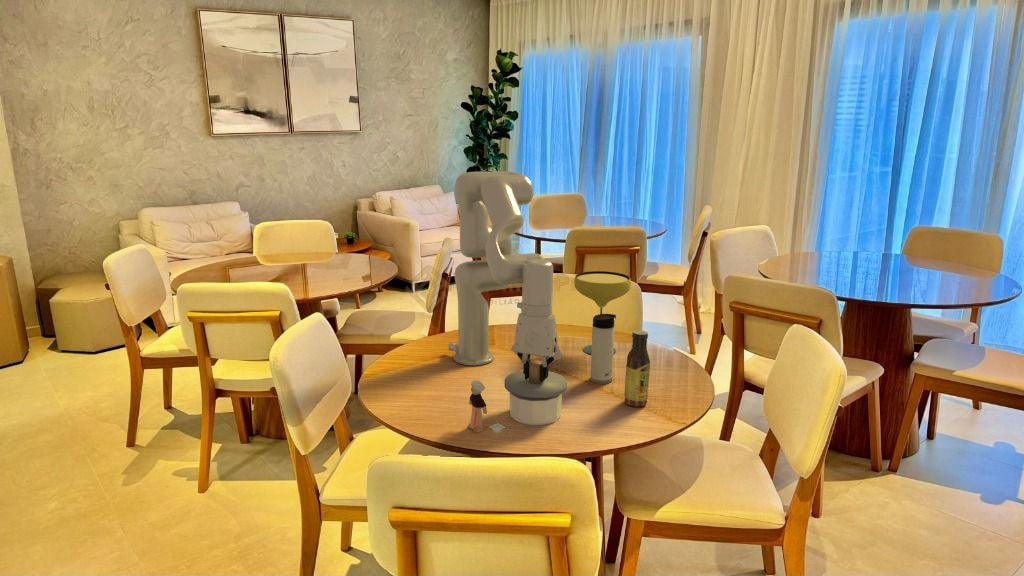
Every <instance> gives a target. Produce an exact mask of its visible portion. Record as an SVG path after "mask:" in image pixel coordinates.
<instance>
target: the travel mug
mask: <svg viewBox="0 0 1024 576" xmlns="http://www.w3.org/2000/svg"><path fill="white" fill-rule="evenodd" d="M615 319H617V315H616V314H615V313H614V314H613V313H602V314H600V313H599V314H595V315H593V317H592V331H591V345H592V351H591V355H590V360H591V361H590V380H591V382H592V383H595V384H598V385H599V384H600V385H606V384H609V383H611V382H612V381H613V364H614V361H613V360H614V354H613V348H614V345H615V344H614V343H615V342H614V341H615Z"/></svg>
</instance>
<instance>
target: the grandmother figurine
mask: <svg viewBox="0 0 1024 576" xmlns="http://www.w3.org/2000/svg"><path fill="white" fill-rule="evenodd" d="M470 385H471V388H470V392H471V394H470V396H469V401H468V404H469V405H471V415H470V423H468V425H467V428H469V429H471V430H473V432H474V433H481V432H483V431H484V430H485V427H483V414H484V415H487V413H488V409H487V406H488V405H487V404H486V402H485V400H484V399H483V396H482V394H481V393H482V392H483V391H484V390H486V386H485V385H484V383H483V382H482V381H480V380H477V379H474V380H472V381H471V384H470Z"/></svg>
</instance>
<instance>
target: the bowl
mask: <svg viewBox="0 0 1024 576" xmlns="http://www.w3.org/2000/svg"><path fill="white" fill-rule="evenodd" d="M562 399H563V393H562V394H560V395H557V396H554V397H549V398H526V397H521V396H517V395H514V394H512V393H510V392H509V416H510V418H511V419H512V420H513V421H515V422H517V423H519V424H523V425H528V426H546V425H550V424H553V423H556V422H557V421H559V419H560V418H561V414H562V407H563V406H562V403H563V400H562Z"/></svg>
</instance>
